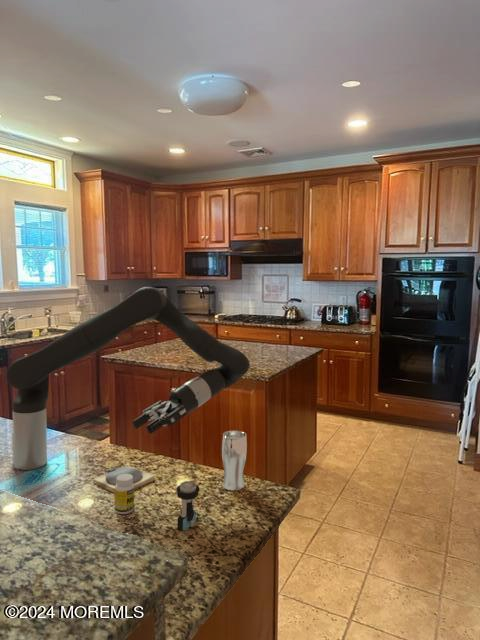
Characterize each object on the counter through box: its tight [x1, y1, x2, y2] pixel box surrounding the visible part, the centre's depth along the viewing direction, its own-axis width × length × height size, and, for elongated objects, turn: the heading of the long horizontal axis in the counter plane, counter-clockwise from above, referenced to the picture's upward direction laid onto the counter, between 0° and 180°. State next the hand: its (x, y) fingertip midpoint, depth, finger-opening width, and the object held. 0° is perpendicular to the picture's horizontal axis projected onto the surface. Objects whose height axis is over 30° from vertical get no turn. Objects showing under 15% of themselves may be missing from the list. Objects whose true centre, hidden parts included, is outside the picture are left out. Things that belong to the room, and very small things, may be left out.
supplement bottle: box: [114, 474, 135, 515], centre depth 109 cm, size 5×5×8 cm
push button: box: [176, 480, 200, 531], centre depth 104 cm, size 7×5×10 cm
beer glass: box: [221, 430, 248, 492], centre depth 123 cm, size 7×7×15 cm
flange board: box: [92, 464, 156, 494], centre depth 125 cm, size 12×12×2 cm
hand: (140, 427), depth 111 cm, fingers open, 8 cm apart
